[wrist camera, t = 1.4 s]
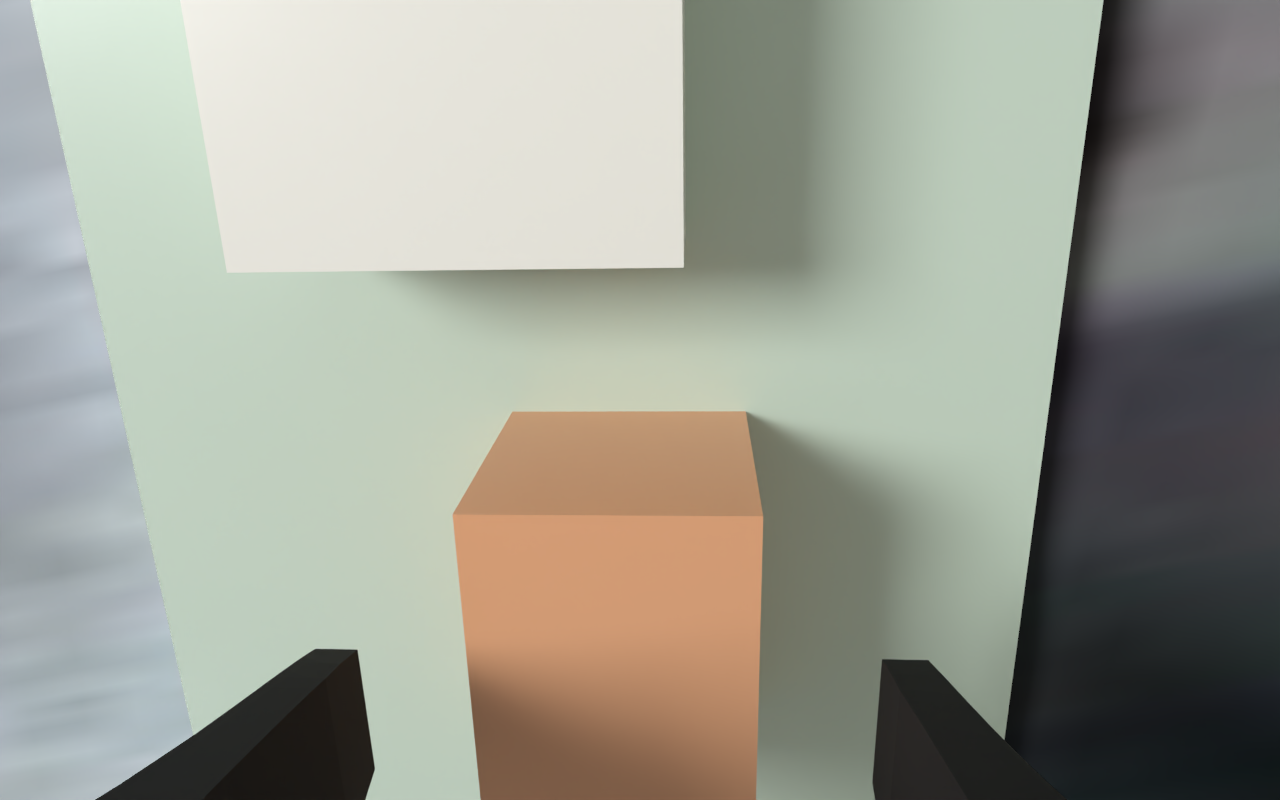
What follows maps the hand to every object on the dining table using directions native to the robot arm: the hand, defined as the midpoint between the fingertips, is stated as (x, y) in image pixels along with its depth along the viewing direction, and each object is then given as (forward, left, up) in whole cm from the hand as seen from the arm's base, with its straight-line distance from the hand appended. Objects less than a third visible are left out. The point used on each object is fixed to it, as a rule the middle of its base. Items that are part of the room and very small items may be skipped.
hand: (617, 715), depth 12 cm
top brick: (0, 0, -4) cm, 4 cm away
